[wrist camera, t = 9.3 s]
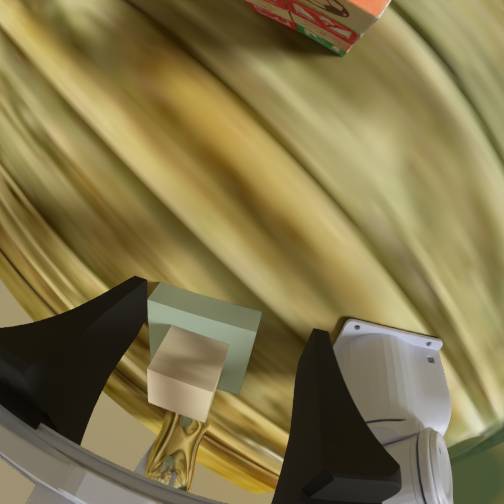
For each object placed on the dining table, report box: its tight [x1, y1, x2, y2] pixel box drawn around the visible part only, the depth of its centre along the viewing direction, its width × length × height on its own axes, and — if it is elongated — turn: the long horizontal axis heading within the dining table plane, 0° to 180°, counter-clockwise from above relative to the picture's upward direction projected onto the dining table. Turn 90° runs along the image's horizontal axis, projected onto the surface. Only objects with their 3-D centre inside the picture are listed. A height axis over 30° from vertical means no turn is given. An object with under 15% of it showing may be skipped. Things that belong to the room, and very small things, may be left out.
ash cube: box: [147, 325, 230, 423], centre depth 24 cm, size 5×5×5 cm
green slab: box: [147, 282, 262, 395], centre depth 28 cm, size 9×9×3 cm
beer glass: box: [134, 410, 209, 493], centre depth 31 cm, size 7×7×15 cm
